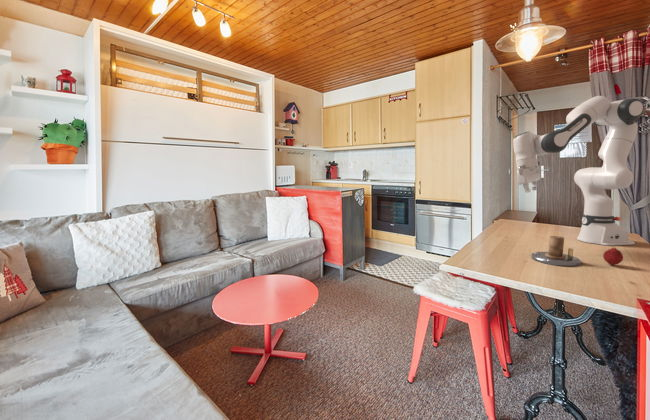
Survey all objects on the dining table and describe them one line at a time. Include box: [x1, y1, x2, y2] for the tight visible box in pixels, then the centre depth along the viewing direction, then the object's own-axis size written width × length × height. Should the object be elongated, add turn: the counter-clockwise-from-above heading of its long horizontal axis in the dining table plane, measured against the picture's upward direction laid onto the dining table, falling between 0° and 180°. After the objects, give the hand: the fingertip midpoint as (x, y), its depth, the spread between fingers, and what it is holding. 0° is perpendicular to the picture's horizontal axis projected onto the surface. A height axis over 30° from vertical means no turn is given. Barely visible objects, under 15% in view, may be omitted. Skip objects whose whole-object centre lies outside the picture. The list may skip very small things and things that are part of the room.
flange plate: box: [530, 247, 581, 267], centre depth 130 cm, size 17×17×6 cm
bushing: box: [545, 235, 566, 260], centre depth 129 cm, size 7×7×9 cm
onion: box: [602, 245, 624, 267], centre depth 121 cm, size 6×6×8 cm
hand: (531, 191), depth 150 cm, fingers open, 8 cm apart
